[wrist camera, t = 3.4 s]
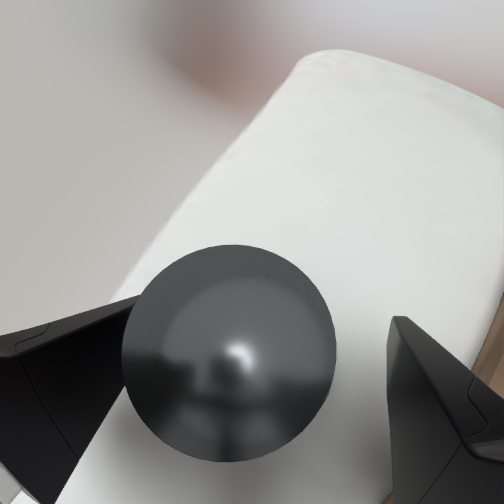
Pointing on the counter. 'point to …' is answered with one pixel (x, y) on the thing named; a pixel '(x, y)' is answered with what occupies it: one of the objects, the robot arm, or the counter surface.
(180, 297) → the steel roller
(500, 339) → the bearing housing
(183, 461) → the counter surface
